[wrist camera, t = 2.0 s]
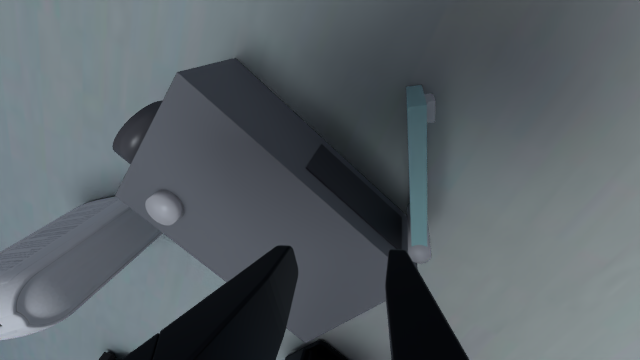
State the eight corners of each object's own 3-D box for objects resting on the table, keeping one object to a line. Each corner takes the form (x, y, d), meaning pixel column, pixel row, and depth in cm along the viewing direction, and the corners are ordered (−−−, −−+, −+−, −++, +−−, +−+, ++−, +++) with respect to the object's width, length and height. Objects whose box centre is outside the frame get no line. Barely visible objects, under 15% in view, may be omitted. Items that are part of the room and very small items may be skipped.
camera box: (416, 222, 21) (420, 293, 15) (323, 283, 26) (302, 352, 20) (213, 36, 18) (134, 44, 13) (154, 145, 23) (81, 183, 18)
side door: (430, 215, 20) (436, 264, 16) (407, 215, 20) (408, 262, 16) (430, 83, 16) (438, 104, 12) (402, 86, 17) (401, 108, 13)
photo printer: (103, 236, 30) (-56, 353, 20) (77, 201, 29) (-112, 308, 18) (180, 226, 27) (36, 361, 16) (156, 184, 25) (-23, 306, 15)
